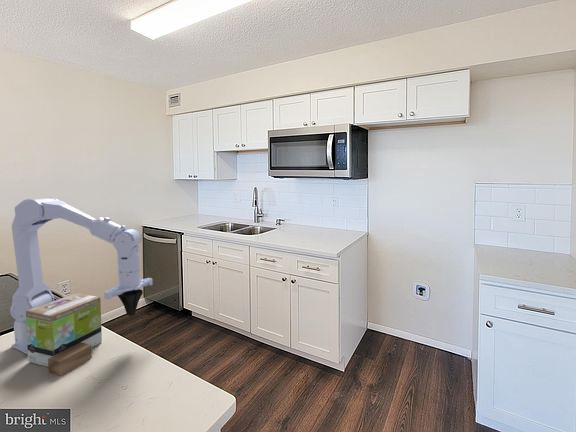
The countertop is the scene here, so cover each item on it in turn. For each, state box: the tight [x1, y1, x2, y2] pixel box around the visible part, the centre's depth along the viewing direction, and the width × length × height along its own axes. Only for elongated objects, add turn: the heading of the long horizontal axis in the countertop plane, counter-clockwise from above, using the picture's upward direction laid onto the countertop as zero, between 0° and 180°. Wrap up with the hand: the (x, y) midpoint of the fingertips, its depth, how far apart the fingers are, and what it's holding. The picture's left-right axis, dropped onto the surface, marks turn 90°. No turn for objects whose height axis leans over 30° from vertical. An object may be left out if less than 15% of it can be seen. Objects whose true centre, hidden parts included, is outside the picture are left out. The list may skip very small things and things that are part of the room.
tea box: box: [26, 292, 103, 368], centre depth 92 cm, size 15×10×15 cm
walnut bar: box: [47, 342, 93, 377], centre depth 86 cm, size 4×9×4 cm, turn 161°
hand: (131, 314), depth 96 cm, fingers closed
